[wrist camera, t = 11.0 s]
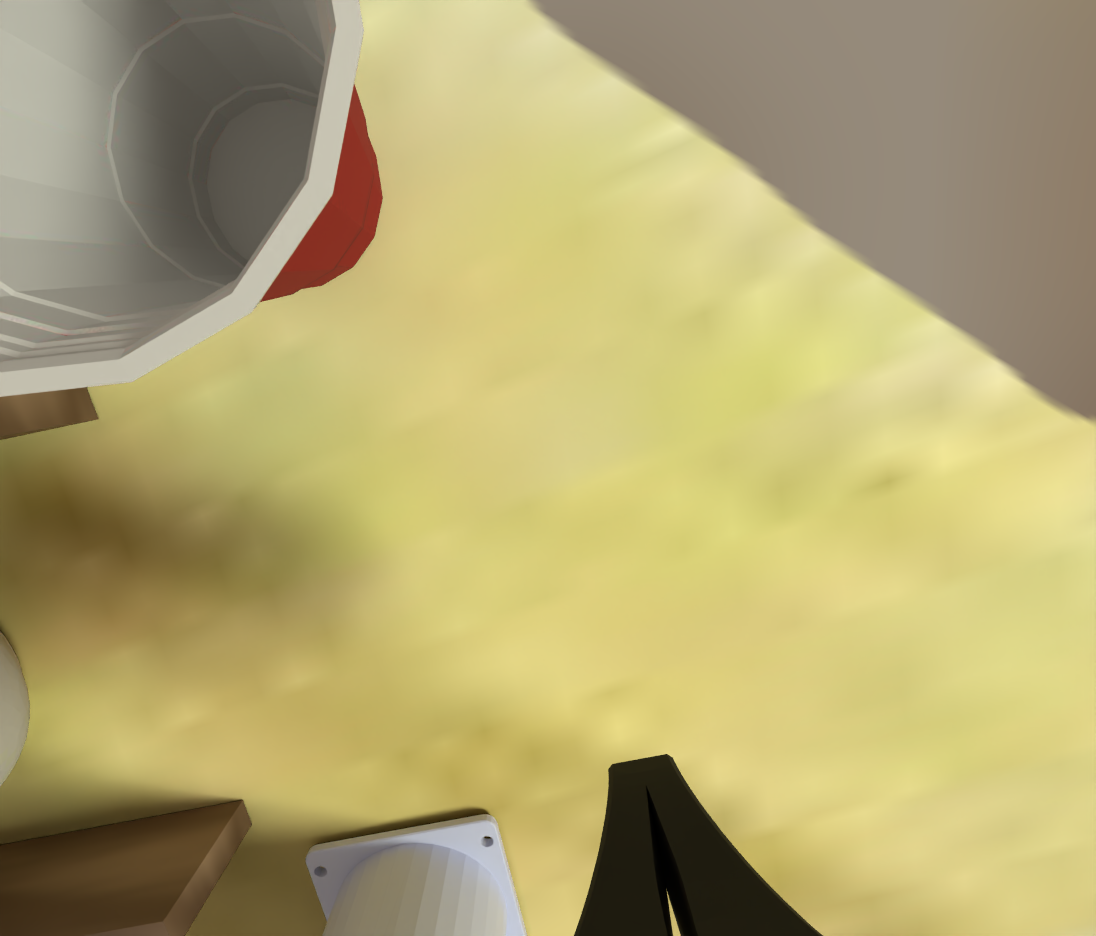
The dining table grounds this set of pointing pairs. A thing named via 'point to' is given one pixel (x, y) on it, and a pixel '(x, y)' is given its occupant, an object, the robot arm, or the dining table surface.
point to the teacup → (11, 709)
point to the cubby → (119, 849)
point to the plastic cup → (170, 175)
